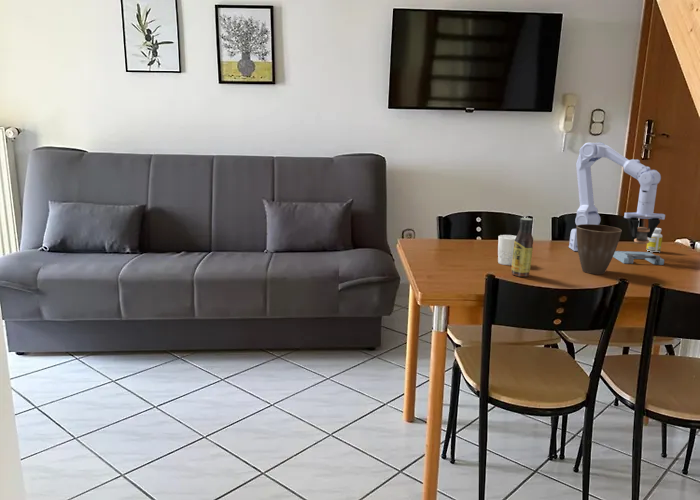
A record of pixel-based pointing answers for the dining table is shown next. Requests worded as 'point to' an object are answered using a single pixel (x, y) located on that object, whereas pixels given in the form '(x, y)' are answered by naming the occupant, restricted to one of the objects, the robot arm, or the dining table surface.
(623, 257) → the notched board
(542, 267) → the dining table surface
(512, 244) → the white cup
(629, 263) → the hook bar
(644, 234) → the spool
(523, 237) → the sauce bottle
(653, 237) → the supplement bottle
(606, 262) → the plant pot
